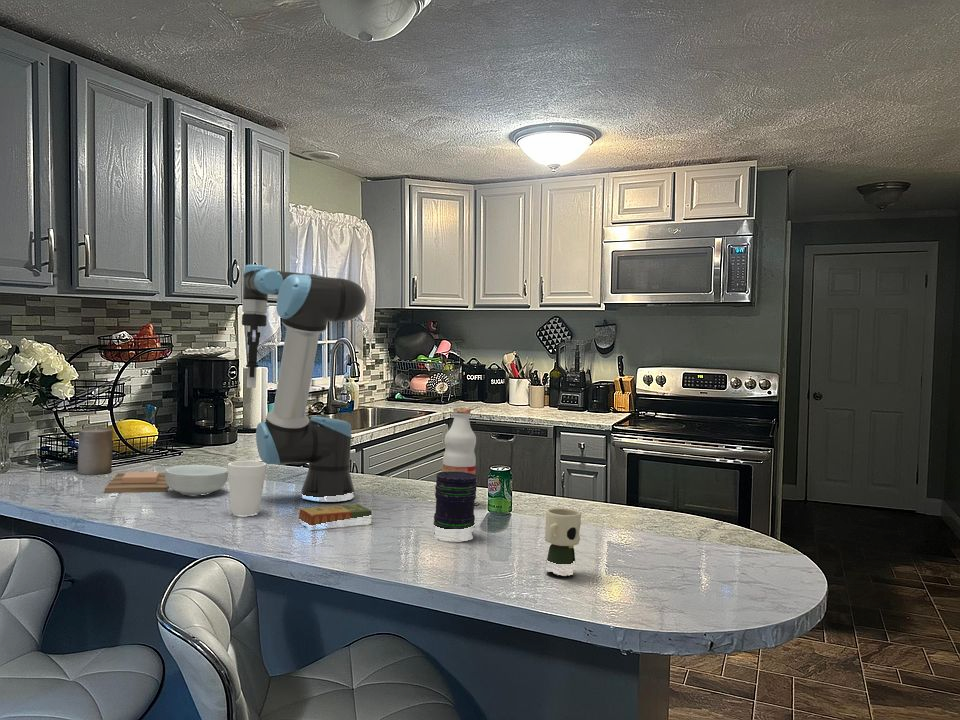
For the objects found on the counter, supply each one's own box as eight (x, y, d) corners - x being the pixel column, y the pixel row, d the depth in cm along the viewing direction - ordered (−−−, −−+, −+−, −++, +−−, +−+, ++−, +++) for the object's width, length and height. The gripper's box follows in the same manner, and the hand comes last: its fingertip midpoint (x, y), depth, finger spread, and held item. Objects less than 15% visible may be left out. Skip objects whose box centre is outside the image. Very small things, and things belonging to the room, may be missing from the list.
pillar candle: (114, 469, 233) (116, 423, 233) (107, 475, 224) (109, 427, 223) (81, 470, 230) (83, 423, 230) (73, 475, 221) (74, 427, 221)
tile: (159, 477, 218) (155, 483, 209) (126, 478, 215) (121, 483, 206) (159, 471, 218) (156, 477, 209) (126, 472, 215) (122, 477, 206)
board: (166, 491, 205) (167, 487, 204) (104, 492, 199) (104, 488, 199) (173, 476, 227) (174, 472, 227) (118, 476, 222) (118, 472, 222)
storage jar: (481, 536, 173) (484, 475, 173) (460, 545, 165) (463, 480, 164) (447, 529, 178) (450, 469, 178) (424, 537, 170) (427, 474, 169)
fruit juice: (436, 502, 208) (441, 407, 208) (467, 502, 211) (472, 407, 211) (446, 510, 199) (451, 410, 199) (478, 509, 203) (483, 410, 202)
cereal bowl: (199, 502, 194) (200, 476, 193) (150, 495, 199) (151, 470, 199) (239, 491, 210) (240, 467, 210) (193, 485, 215) (194, 462, 215)
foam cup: (224, 519, 177) (226, 466, 177) (226, 510, 186) (229, 460, 186) (264, 518, 180) (266, 467, 180) (264, 510, 189) (267, 461, 188)
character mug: (564, 585, 140) (568, 519, 140) (532, 577, 144) (535, 513, 144) (587, 572, 149) (590, 510, 149) (556, 565, 153) (559, 504, 153)
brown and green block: (298, 524, 177) (299, 507, 177) (357, 519, 186) (358, 502, 186) (310, 532, 170) (311, 514, 170) (371, 526, 179) (372, 509, 179)
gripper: (267, 313, 223) (264, 389, 223) (266, 315, 235) (262, 386, 236) (242, 312, 221) (238, 388, 221) (242, 313, 233) (238, 385, 233)
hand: (251, 387), depth 228 cm, fingers closed
